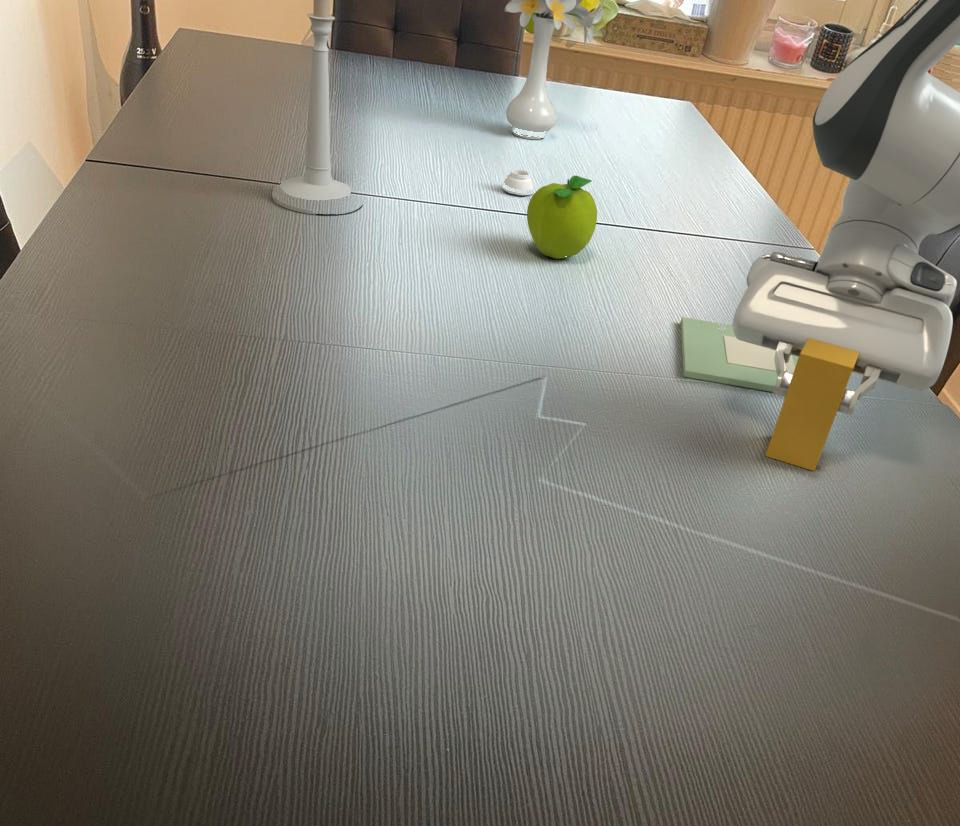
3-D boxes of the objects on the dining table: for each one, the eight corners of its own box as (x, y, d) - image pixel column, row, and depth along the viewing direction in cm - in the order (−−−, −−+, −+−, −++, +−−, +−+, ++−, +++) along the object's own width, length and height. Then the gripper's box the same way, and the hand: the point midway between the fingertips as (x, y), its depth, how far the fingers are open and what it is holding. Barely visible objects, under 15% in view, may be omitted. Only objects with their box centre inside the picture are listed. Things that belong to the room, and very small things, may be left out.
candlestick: (254, 191, 145) (249, -61, 126) (327, 182, 153) (333, -58, 134) (306, 220, 139) (309, -42, 120) (380, 209, 146) (394, -39, 127)
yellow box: (774, 436, 106) (809, 335, 99) (822, 450, 105) (860, 349, 98) (765, 456, 102) (800, 353, 95) (814, 471, 101) (853, 367, 94)
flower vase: (579, 152, 184) (607, -10, 168) (479, 135, 184) (497, -28, 169) (583, 135, 194) (609, -19, 178) (487, 119, 194) (506, -36, 179)
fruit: (600, 257, 142) (615, 181, 136) (567, 273, 136) (581, 194, 129) (544, 238, 145) (556, 163, 139) (509, 252, 139) (520, 175, 132)
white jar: (538, 192, 162) (509, 185, 163) (541, 173, 160) (512, 165, 161) (525, 199, 158) (496, 191, 160) (528, 179, 156) (499, 171, 158)
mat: (823, 347, 126) (826, 340, 126) (842, 404, 114) (845, 397, 113) (680, 322, 127) (682, 315, 126) (683, 377, 114) (685, 369, 114)
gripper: (760, 230, 100) (710, 358, 99) (975, 285, 95) (924, 420, 94) (756, 263, 106) (709, 384, 105) (957, 316, 101) (910, 444, 100)
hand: (812, 402), depth 99 cm, fingers closed on yellow box, 5 cm apart
